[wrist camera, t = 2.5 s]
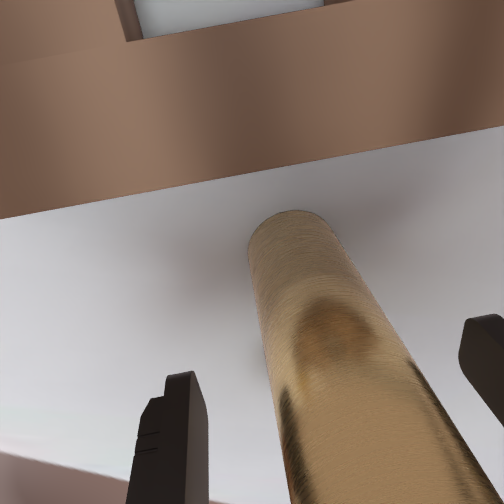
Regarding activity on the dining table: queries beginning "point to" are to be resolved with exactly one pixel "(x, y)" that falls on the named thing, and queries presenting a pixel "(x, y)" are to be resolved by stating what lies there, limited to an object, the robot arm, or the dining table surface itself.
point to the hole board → (230, 92)
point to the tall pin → (349, 382)
